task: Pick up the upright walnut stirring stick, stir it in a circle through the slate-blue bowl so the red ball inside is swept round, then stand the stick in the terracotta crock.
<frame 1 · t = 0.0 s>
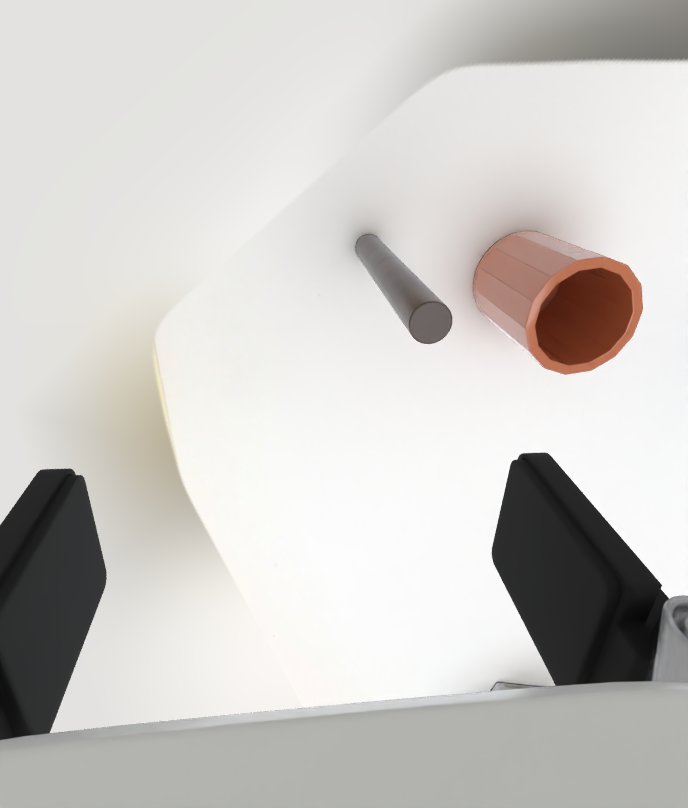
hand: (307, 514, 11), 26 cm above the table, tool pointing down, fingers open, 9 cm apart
stick: (368, 247, 35), on the table
crock: (518, 280, 37), on the table
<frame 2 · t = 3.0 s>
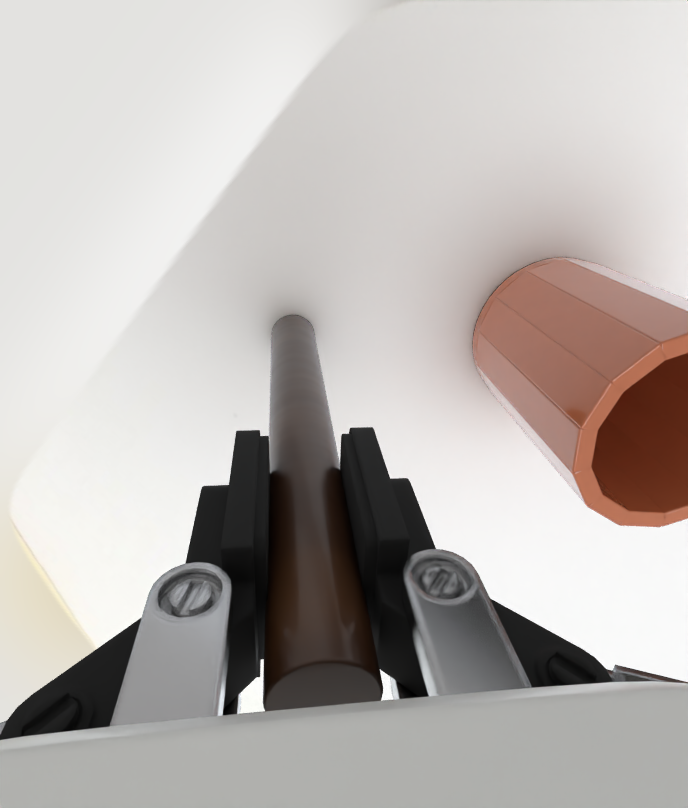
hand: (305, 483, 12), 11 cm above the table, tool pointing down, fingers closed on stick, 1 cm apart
stick: (293, 335, 22), on the table, touching gripper
crock: (545, 334, 23), on the table
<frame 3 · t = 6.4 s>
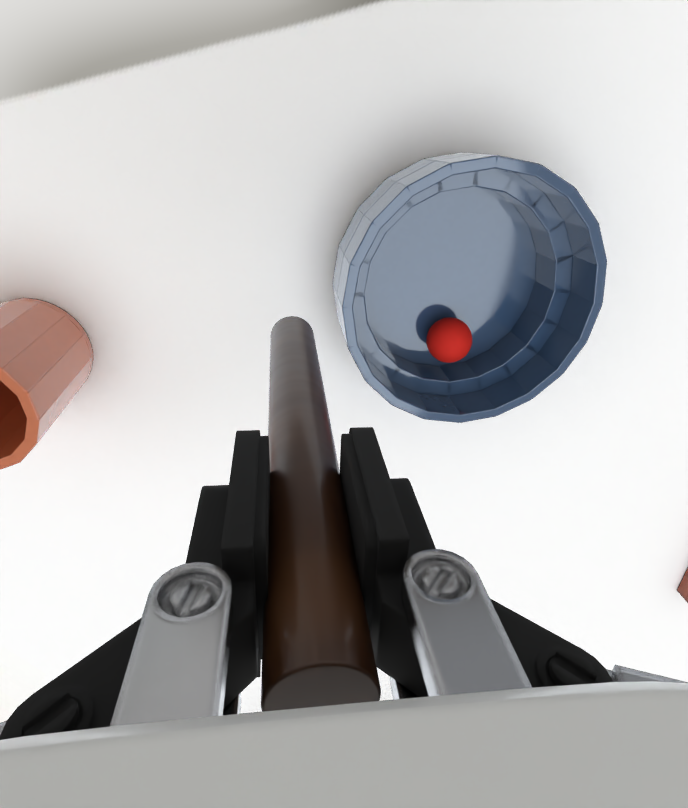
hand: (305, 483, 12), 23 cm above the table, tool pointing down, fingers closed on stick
ball: (449, 340, 34), point 2 cm above the table, touching bowl
stick: (292, 336, 22), point 13 cm above the table, touching gripper
bowl: (445, 279, 35), on the table
crock: (37, 349, 33), on the table
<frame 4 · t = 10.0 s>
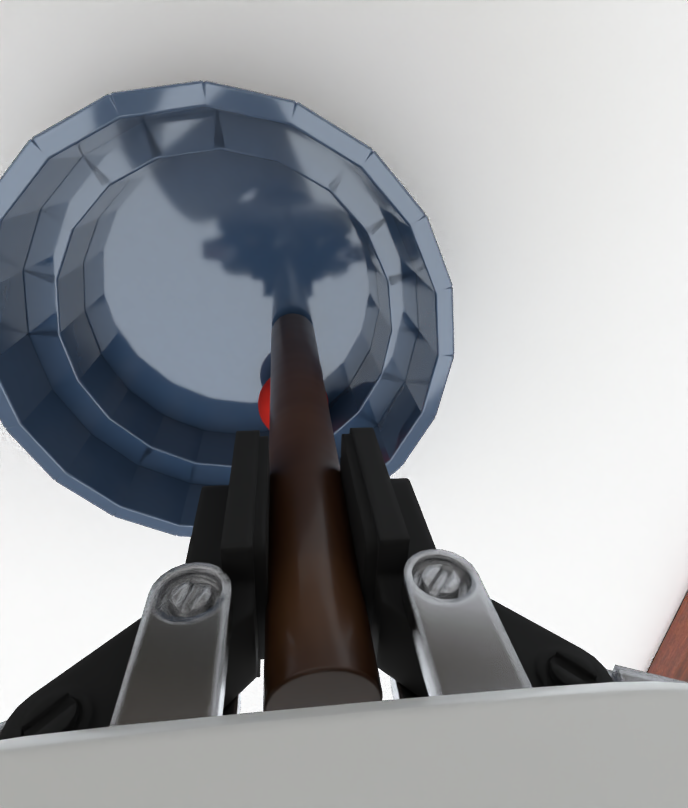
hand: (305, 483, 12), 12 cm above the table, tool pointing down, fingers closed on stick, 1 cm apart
ball: (293, 404, 22), point 2 cm above the table, tilted 41°, touching bowl
stick: (292, 333, 22), point 1 cm above the table, touching gripper
bowl: (237, 305, 22), on the table
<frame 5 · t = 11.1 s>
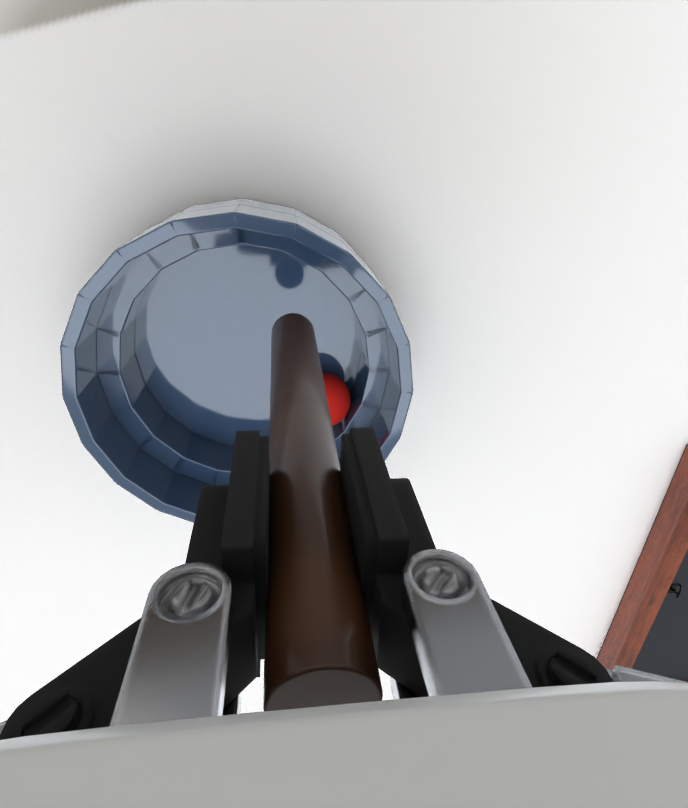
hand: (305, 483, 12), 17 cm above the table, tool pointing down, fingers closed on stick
ball: (322, 400, 28), point 2 cm above the table, tilted 75°, touching bowl
stick: (293, 333, 22), point 6 cm above the table, touching gripper
bowl: (251, 347, 28), on the table
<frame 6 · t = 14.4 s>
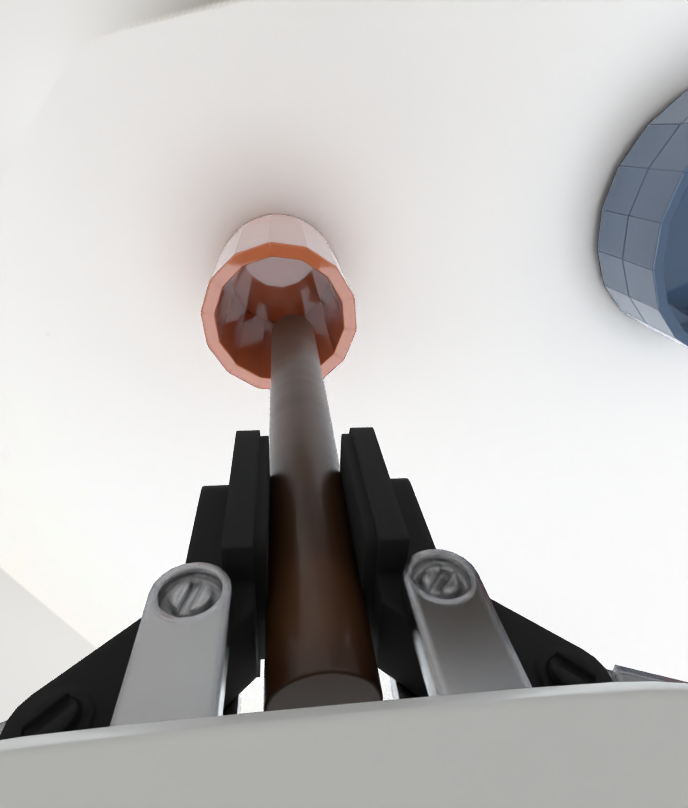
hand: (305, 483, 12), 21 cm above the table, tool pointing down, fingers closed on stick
stick: (293, 334, 22), point 11 cm above the table, touching gripper
crock: (279, 273, 31), on the table
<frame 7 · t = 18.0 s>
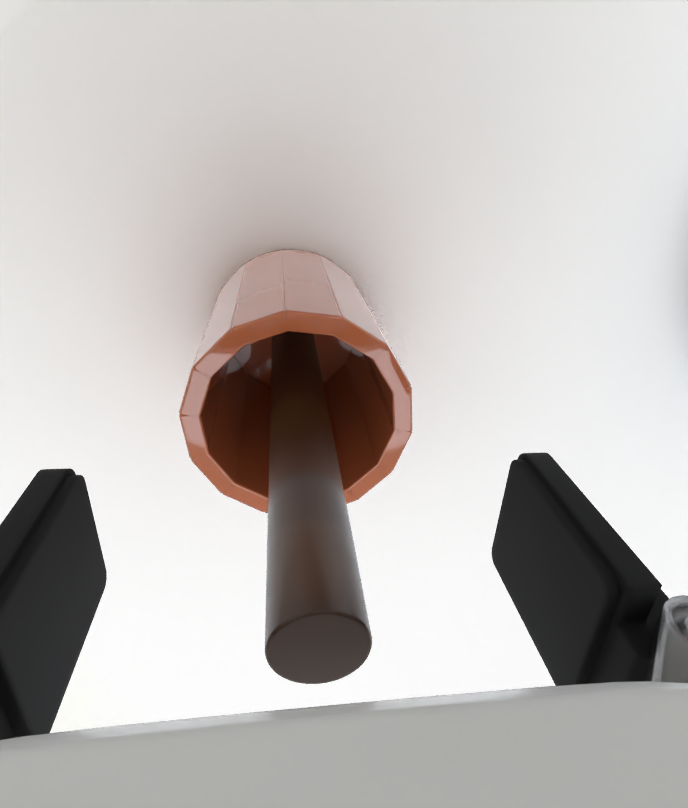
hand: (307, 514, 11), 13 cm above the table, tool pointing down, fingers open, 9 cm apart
stick: (292, 332, 23), point 1 cm above the table, touching crock
crock: (292, 326, 23), on the table
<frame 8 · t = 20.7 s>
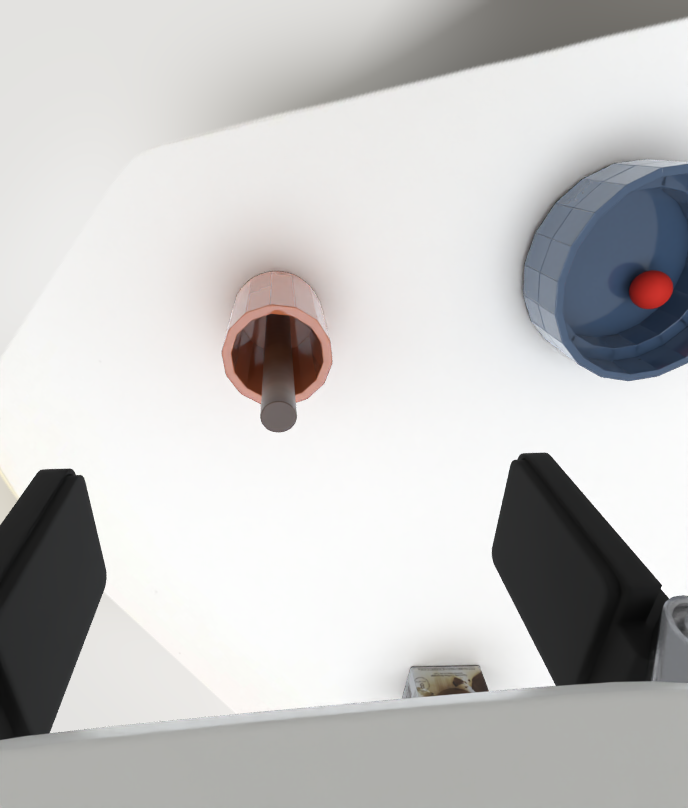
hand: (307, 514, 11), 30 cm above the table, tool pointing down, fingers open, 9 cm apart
ball: (650, 289, 41), point 2 cm above the table, tilted 32°, touching bowl
stick: (277, 317, 40), point 1 cm above the table, touching crock
bowl: (611, 263, 42), on the table
crock: (277, 314, 40), on the table
coffee box: (439, 680, 64), on the table
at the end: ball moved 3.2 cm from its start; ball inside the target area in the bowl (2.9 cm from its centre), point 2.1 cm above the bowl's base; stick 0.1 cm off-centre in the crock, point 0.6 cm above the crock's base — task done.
